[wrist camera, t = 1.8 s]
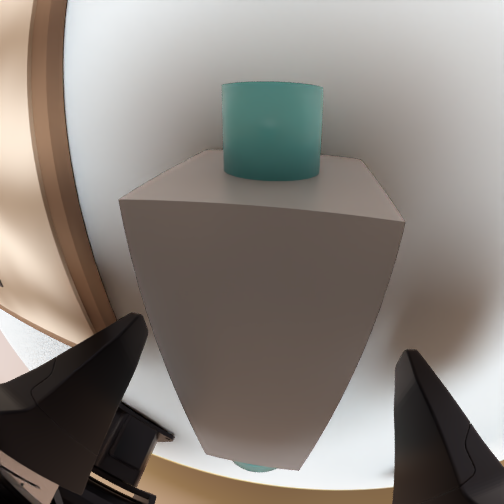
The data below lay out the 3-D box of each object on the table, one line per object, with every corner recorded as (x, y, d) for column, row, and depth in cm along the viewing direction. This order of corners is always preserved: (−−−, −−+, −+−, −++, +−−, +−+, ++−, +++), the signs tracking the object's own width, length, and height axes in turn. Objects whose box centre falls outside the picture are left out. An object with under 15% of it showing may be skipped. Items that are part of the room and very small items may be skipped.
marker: (302, 416, 13) (292, 480, 10) (232, 406, 14) (212, 466, 11) (364, 97, 6) (423, 94, 2) (206, 92, 6) (106, 94, 3)
